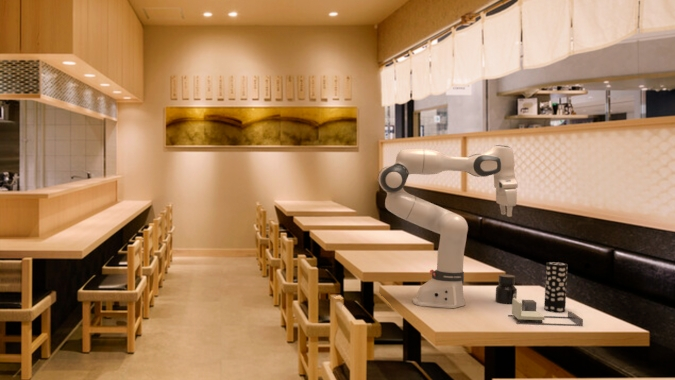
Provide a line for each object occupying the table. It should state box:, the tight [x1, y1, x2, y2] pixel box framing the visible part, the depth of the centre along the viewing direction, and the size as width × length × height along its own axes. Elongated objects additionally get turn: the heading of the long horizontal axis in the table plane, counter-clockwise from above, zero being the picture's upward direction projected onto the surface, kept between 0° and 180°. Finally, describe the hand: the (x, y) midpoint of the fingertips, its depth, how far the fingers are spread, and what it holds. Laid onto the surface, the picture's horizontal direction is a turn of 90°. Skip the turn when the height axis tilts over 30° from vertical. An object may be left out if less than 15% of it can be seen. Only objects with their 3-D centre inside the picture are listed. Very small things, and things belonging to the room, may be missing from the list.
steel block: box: [521, 299, 537, 311], centre depth 262 cm, size 4×4×5 cm
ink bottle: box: [494, 274, 518, 305], centre depth 282 cm, size 10×9×12 cm
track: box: [507, 311, 584, 327], centre depth 250 cm, size 25×12×3 cm, turn 90°
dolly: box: [511, 298, 546, 323], centre depth 250 cm, size 10×9×8 cm
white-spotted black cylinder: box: [543, 261, 569, 314], centre depth 269 cm, size 8×8×20 cm
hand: (506, 215), depth 275 cm, fingers open, 8 cm apart
